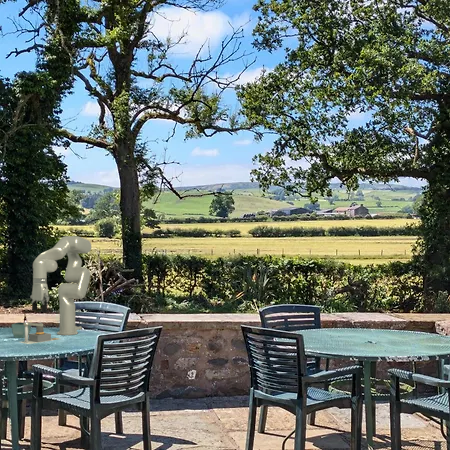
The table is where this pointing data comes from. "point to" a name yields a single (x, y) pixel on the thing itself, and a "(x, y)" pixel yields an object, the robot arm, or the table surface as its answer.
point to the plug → (39, 330)
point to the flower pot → (19, 330)
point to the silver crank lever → (33, 324)
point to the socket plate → (36, 337)
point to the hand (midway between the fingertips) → (39, 310)
